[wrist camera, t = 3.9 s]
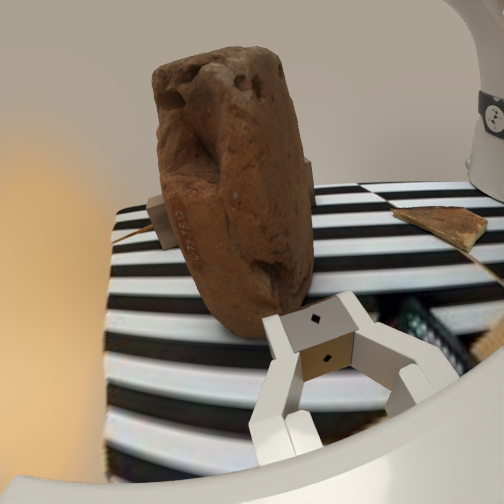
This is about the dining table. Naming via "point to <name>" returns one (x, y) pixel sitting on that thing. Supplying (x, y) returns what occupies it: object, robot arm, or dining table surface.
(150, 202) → the board
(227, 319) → the weathered terracotta carving
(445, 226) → the brown flat angular piece
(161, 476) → the dining table surface
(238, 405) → the dining table surface
